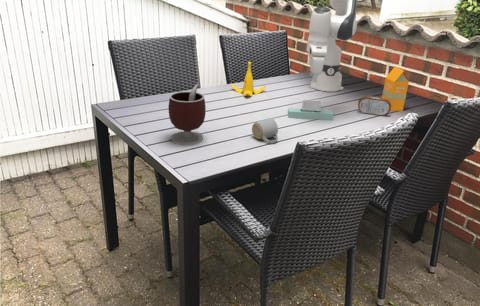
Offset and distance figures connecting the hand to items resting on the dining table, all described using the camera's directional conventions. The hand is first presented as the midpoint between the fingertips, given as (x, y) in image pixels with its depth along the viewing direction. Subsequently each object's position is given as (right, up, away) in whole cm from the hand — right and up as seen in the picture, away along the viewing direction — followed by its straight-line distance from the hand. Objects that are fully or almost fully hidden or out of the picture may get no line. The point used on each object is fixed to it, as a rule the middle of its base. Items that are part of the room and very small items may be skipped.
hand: (313, 79), depth 185 cm
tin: (+31, -14, +15) cm, 37 cm away
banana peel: (-26, -1, +38) cm, 46 cm away
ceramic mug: (-22, -27, -18) cm, 39 cm away
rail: (0, -16, +7) cm, 18 cm away
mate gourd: (-52, -27, -21) cm, 63 cm away
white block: (0, -16, +7) cm, 18 cm away
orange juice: (+43, -10, +25) cm, 51 cm away
